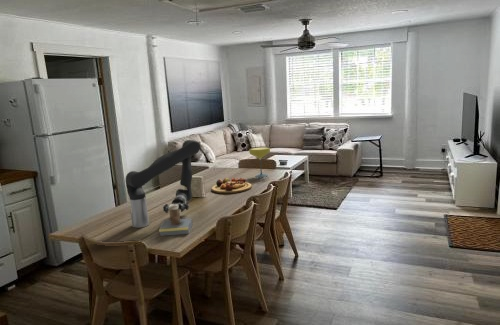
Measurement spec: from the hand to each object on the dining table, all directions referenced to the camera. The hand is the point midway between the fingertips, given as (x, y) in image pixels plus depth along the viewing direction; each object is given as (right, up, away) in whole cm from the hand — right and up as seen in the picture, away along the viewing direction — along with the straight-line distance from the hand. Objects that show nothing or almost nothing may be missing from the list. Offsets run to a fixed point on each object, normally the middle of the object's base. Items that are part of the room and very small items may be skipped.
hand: (173, 210), depth 213 cm
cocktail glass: (+53, +15, +121) cm, 133 cm away
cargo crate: (+1, -8, +3) cm, 8 cm away
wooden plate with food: (+28, +6, +87) cm, 91 cm away
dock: (+1, -12, +3) cm, 12 cm away
